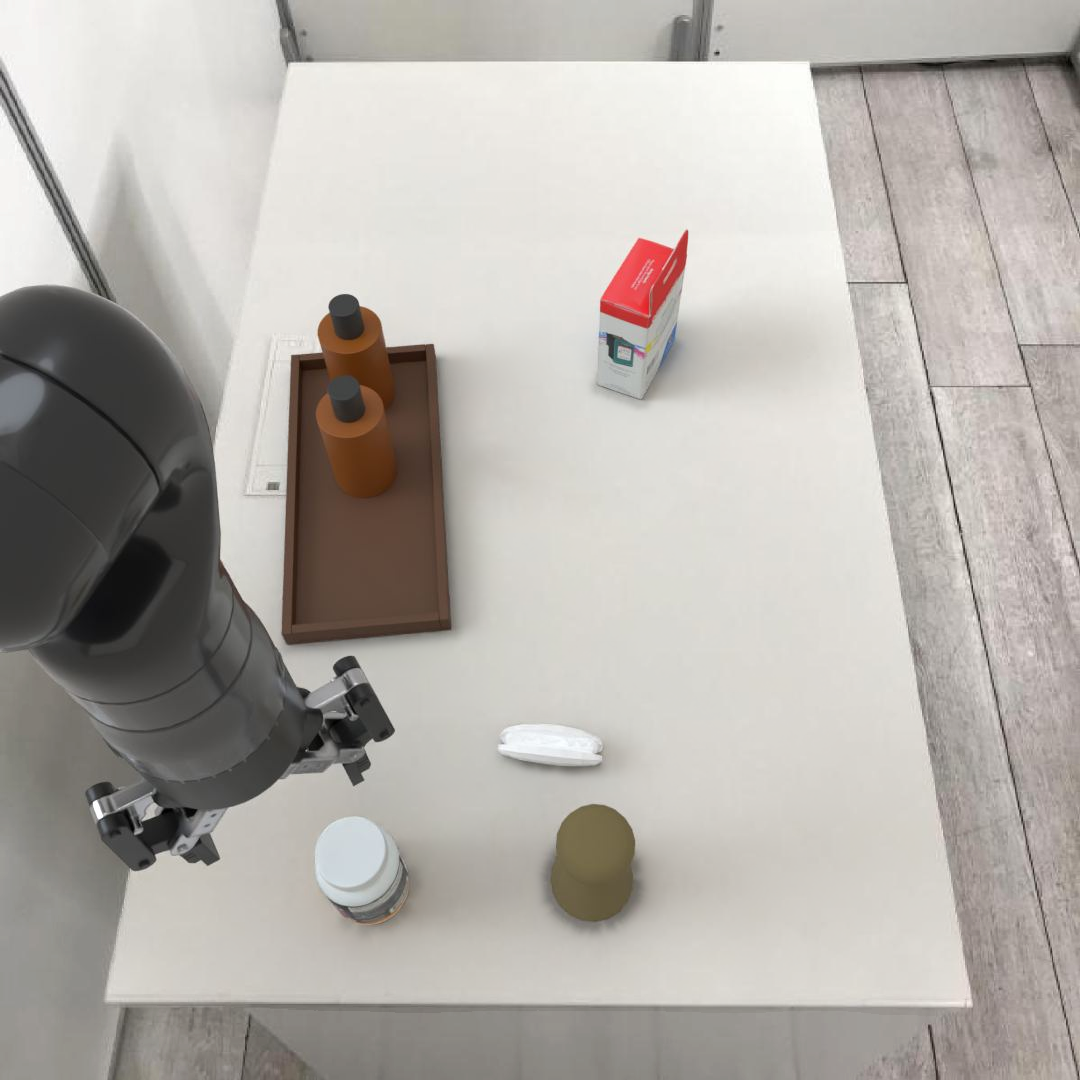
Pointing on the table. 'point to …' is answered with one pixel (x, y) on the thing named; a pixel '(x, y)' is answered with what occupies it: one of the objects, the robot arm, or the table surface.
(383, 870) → the pill bottle
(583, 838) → the cork
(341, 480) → the amber bottle near
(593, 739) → the sub sandwich
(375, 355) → the amber bottle far
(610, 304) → the ink box
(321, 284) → the table surface
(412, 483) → the tray
